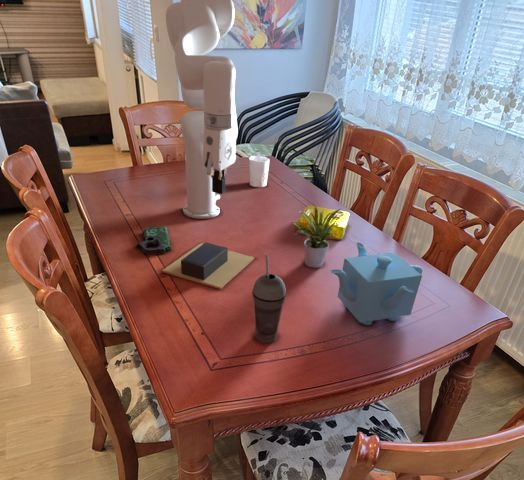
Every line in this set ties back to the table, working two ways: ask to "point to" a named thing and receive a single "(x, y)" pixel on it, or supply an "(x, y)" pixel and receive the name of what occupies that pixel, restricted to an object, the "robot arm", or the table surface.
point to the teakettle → (378, 286)
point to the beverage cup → (268, 305)
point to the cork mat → (218, 277)
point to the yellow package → (338, 225)
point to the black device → (204, 261)
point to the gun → (155, 240)
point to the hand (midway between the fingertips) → (218, 192)
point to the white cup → (258, 170)
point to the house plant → (316, 238)
